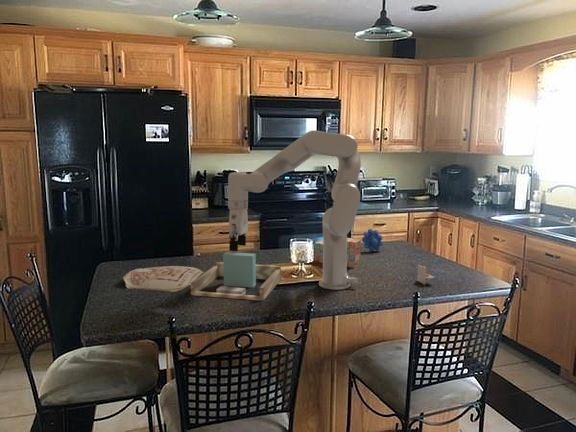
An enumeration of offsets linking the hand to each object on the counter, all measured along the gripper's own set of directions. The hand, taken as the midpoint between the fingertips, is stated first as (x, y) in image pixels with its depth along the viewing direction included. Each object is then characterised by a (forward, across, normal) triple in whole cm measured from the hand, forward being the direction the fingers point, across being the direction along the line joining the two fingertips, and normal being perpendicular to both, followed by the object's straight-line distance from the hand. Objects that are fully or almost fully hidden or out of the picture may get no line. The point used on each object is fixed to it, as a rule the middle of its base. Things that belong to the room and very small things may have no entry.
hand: (237, 248), depth 190 cm
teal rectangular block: (+16, 0, -1) cm, 16 cm away
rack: (+16, -2, -1) cm, 17 cm away
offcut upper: (+15, -10, -1) cm, 18 cm away
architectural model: (+15, +24, -72) cm, 77 cm away
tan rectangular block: (+16, +46, -34) cm, 59 cm away
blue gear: (+15, +72, -49) cm, 89 cm away
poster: (+18, +4, +33) cm, 38 cm away
